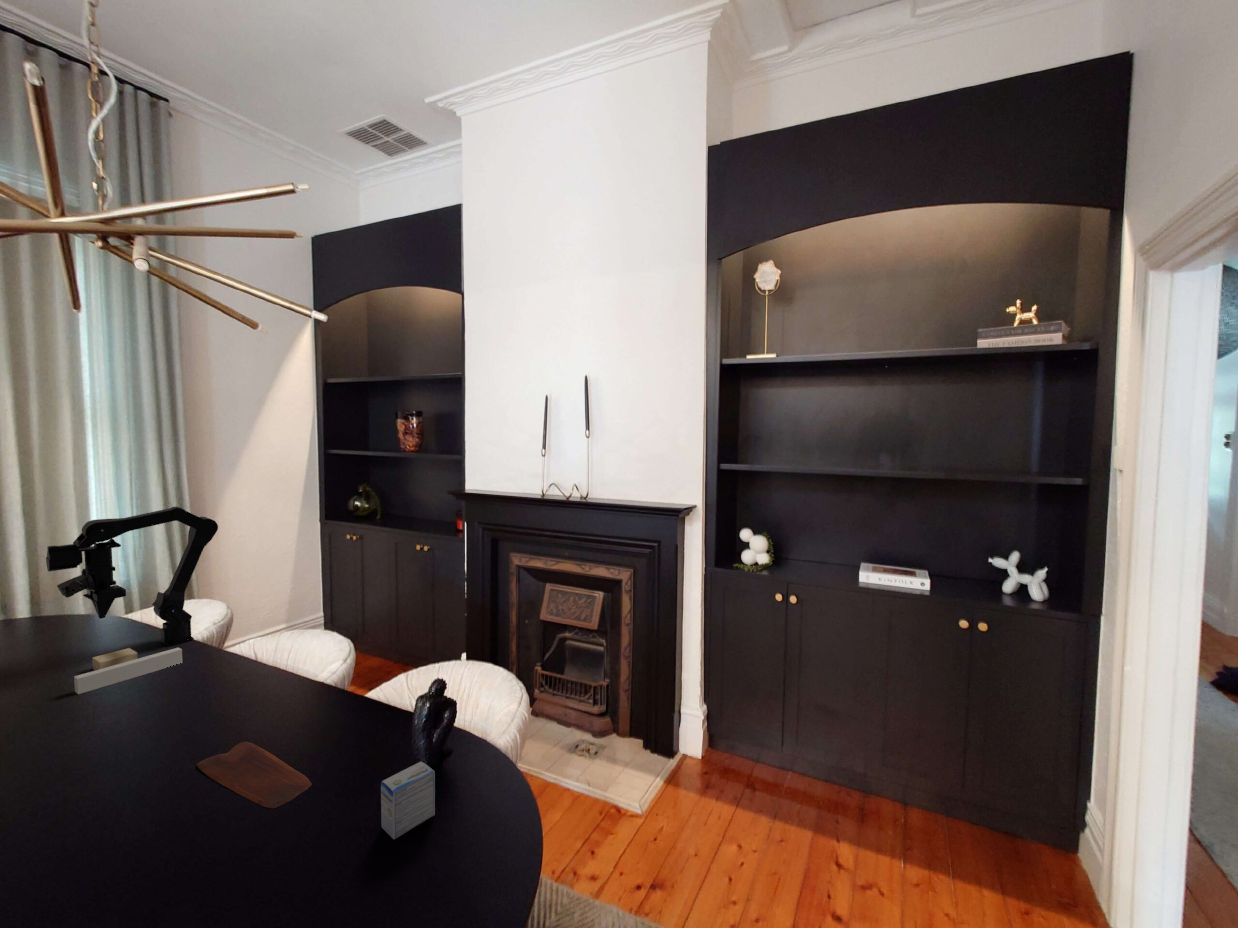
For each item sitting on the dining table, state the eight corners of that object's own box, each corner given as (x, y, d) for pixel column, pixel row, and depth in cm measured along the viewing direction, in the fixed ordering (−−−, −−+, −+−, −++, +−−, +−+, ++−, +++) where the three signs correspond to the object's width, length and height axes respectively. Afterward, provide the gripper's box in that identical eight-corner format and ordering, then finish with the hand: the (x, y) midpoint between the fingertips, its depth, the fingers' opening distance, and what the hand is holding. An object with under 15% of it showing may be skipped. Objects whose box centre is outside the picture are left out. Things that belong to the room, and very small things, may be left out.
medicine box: (422, 804, 103) (421, 759, 102) (435, 815, 100) (435, 769, 99) (380, 828, 97) (379, 780, 96) (394, 841, 94) (393, 791, 93)
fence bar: (178, 660, 160) (178, 647, 160) (182, 662, 159) (181, 649, 159) (75, 691, 142) (74, 676, 141) (78, 694, 140) (77, 678, 140)
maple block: (129, 659, 161) (129, 647, 161) (137, 664, 158) (137, 652, 158) (93, 669, 155) (92, 657, 154) (100, 675, 151) (100, 662, 151)
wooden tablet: (192, 769, 113) (192, 761, 112) (246, 744, 121) (245, 737, 121) (265, 817, 99) (265, 809, 99) (320, 786, 108) (319, 777, 108)
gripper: (49, 565, 157) (52, 619, 158) (71, 576, 147) (74, 633, 148) (101, 557, 166) (104, 608, 168) (125, 567, 157) (128, 621, 158)
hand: (101, 618), depth 160 cm, fingers closed
